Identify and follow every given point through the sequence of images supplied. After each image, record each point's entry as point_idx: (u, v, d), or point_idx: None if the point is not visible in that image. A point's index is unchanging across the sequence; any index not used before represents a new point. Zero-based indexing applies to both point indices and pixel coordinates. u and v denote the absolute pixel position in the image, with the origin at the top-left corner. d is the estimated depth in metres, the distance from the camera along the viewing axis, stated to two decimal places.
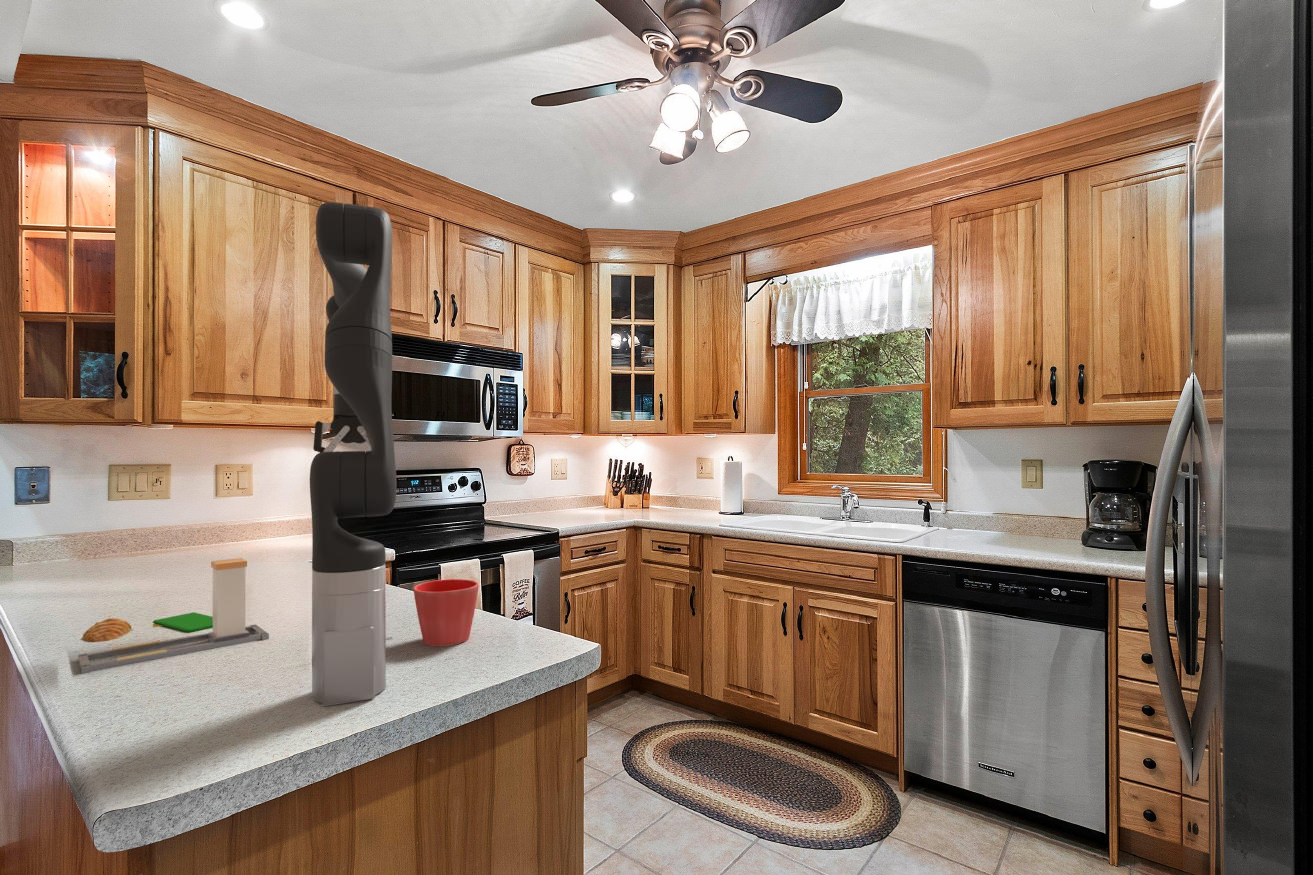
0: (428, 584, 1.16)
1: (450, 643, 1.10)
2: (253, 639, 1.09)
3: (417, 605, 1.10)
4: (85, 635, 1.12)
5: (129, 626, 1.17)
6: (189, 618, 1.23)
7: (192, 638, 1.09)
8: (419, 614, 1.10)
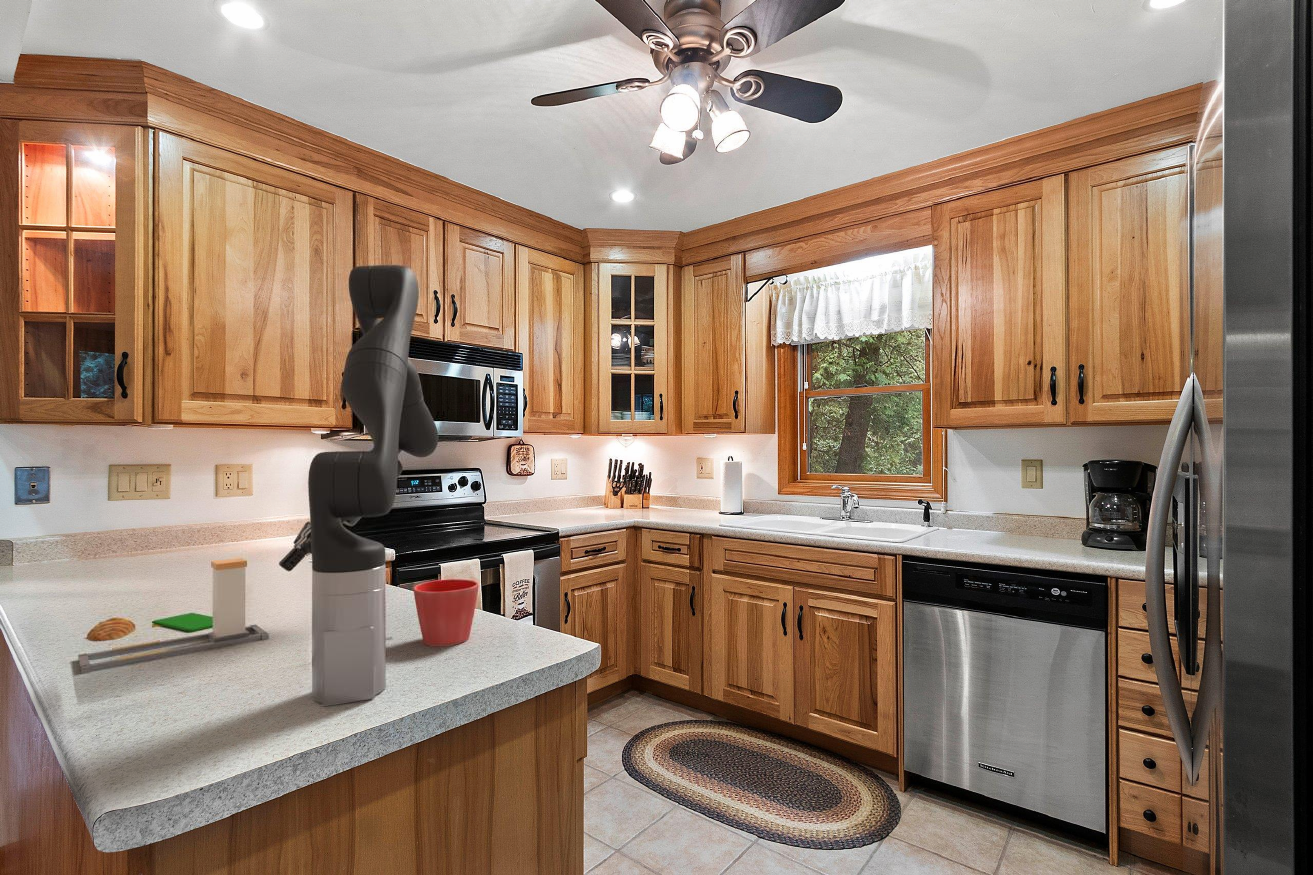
0: (428, 584, 1.16)
1: (450, 643, 1.10)
2: (253, 639, 1.09)
3: (417, 605, 1.10)
4: (90, 634, 1.12)
5: (133, 625, 1.18)
6: (189, 618, 1.23)
7: (192, 638, 1.09)
8: (419, 614, 1.10)
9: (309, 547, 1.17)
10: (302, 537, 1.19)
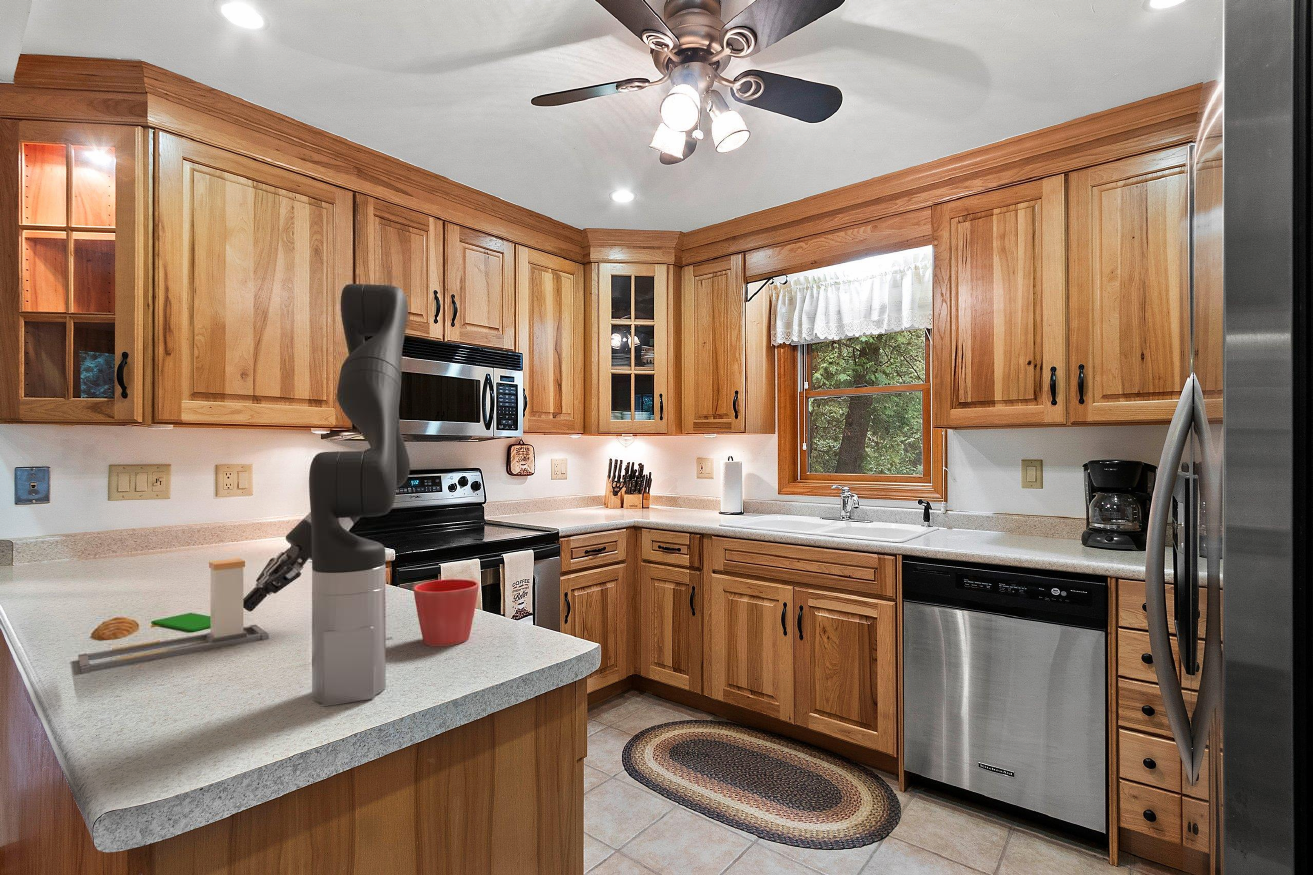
0: (428, 584, 1.16)
1: (450, 643, 1.10)
2: (253, 639, 1.09)
3: (417, 605, 1.10)
4: (94, 633, 1.13)
5: (137, 624, 1.18)
6: (188, 618, 1.23)
7: (192, 638, 1.09)
8: (419, 614, 1.10)
9: (271, 586, 1.12)
10: (265, 575, 1.15)
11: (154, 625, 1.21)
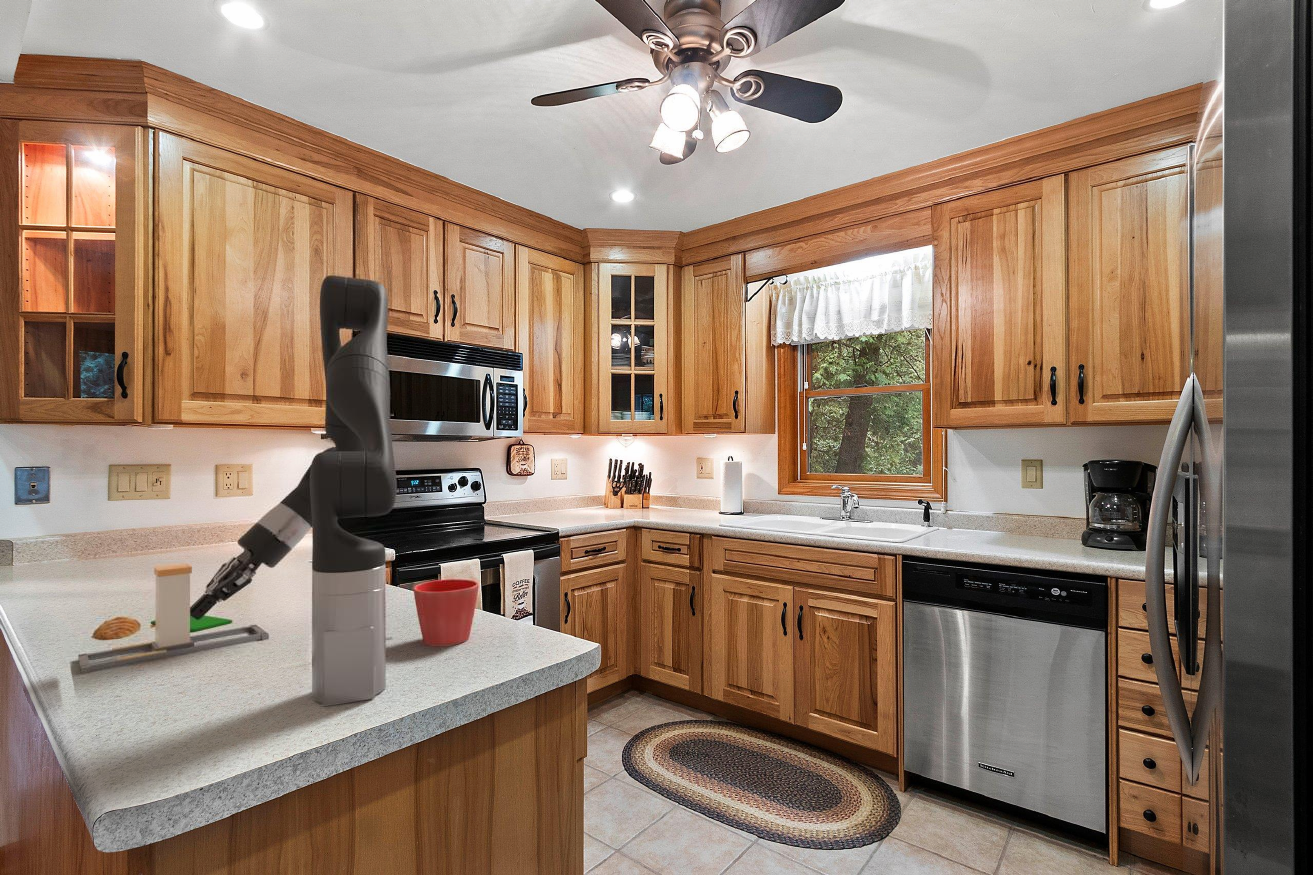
0: (428, 584, 1.16)
1: (450, 643, 1.10)
2: (253, 639, 1.09)
3: (417, 606, 1.10)
4: (96, 633, 1.13)
5: (139, 624, 1.18)
6: None
7: (192, 638, 1.09)
8: (419, 614, 1.10)
9: (220, 593, 1.07)
10: (215, 581, 1.10)
11: (154, 625, 1.21)
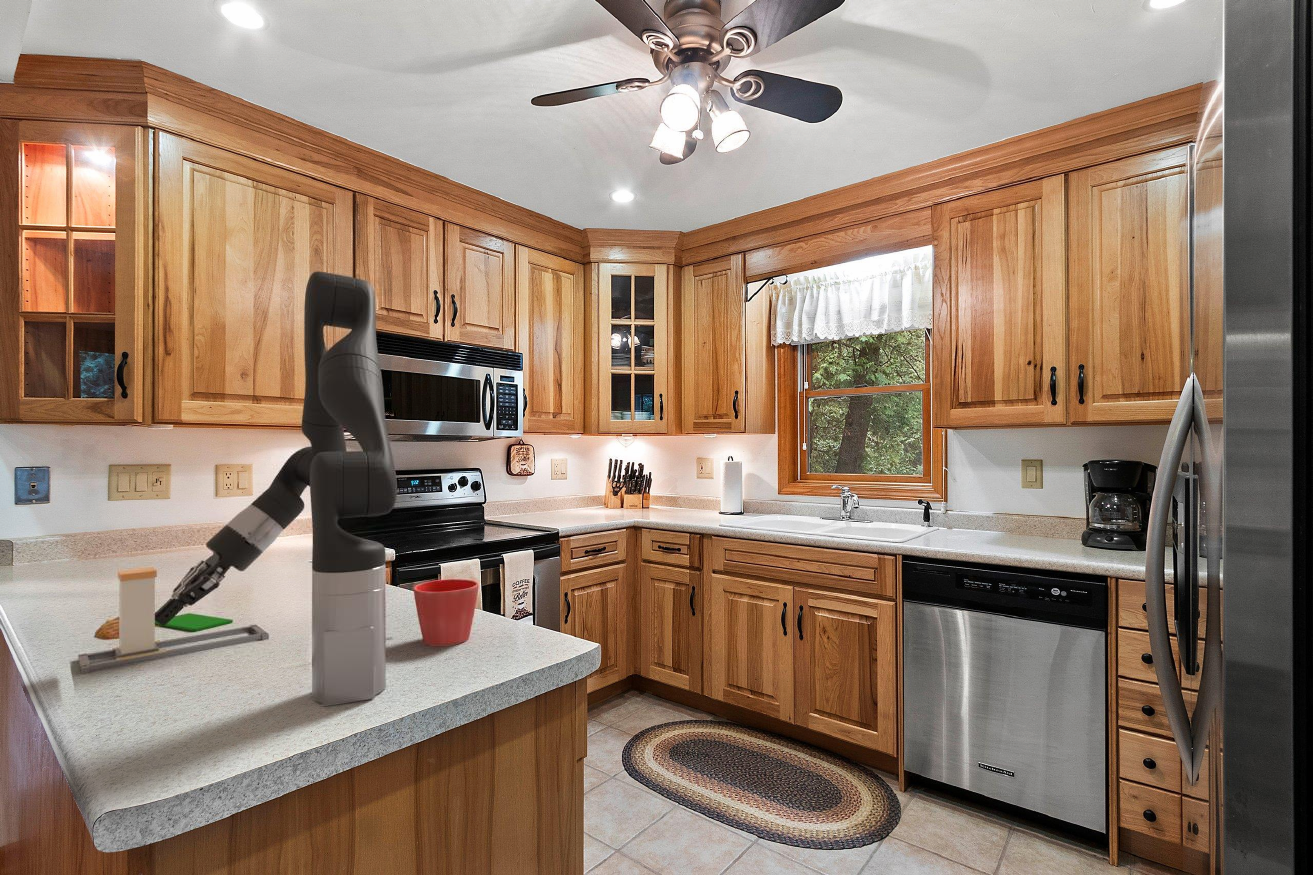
0: (428, 584, 1.16)
1: (450, 643, 1.10)
2: (253, 639, 1.09)
3: (417, 606, 1.10)
4: (98, 633, 1.13)
5: None
6: (188, 618, 1.23)
7: (192, 638, 1.09)
8: (419, 614, 1.10)
9: (186, 598, 1.04)
10: (182, 585, 1.07)
11: None
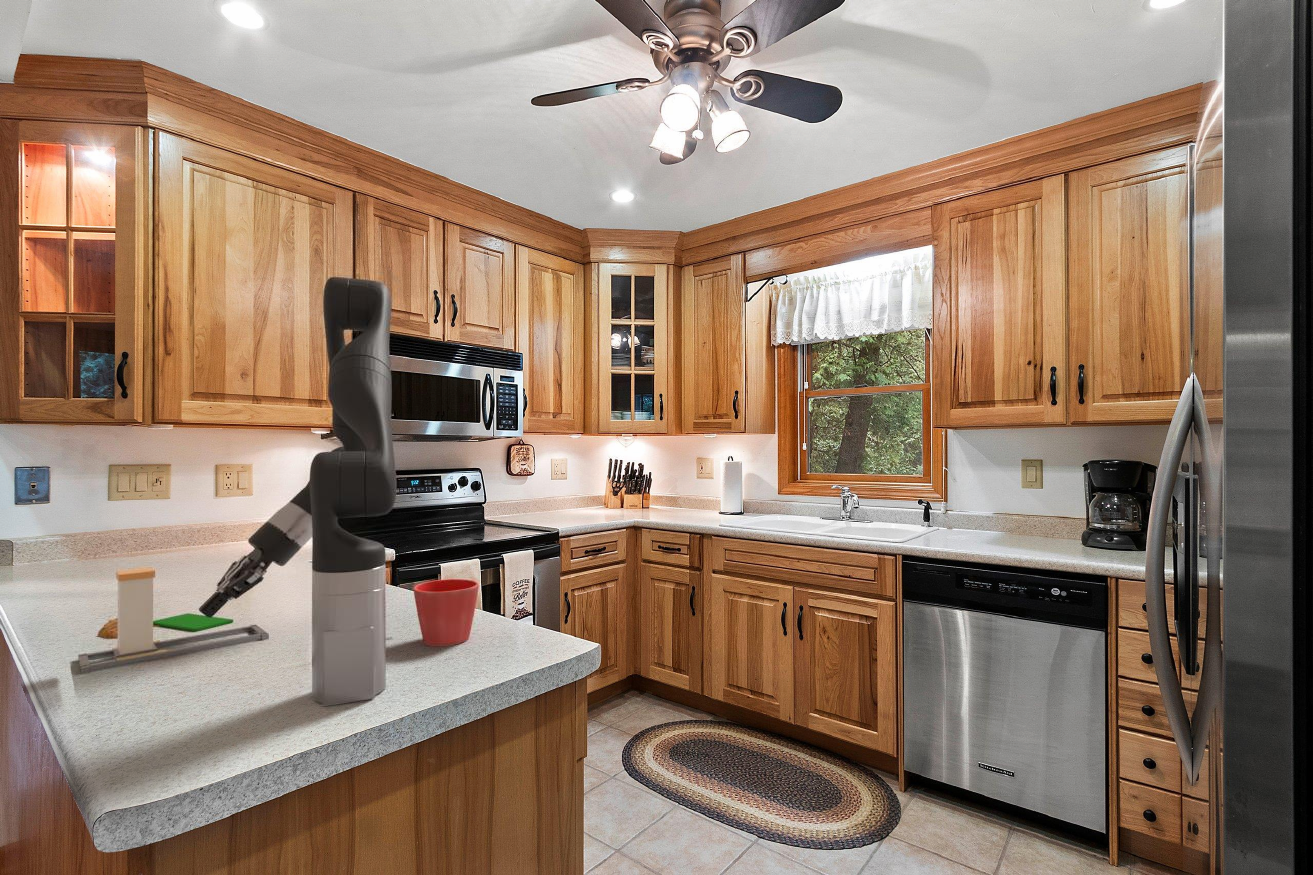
0: (428, 584, 1.16)
1: (450, 643, 1.10)
2: (253, 639, 1.09)
3: (417, 605, 1.10)
4: (102, 632, 1.14)
5: None
6: (188, 618, 1.23)
7: (192, 638, 1.09)
8: (419, 614, 1.10)
9: (232, 591, 1.08)
10: (226, 579, 1.11)
11: (153, 626, 1.20)
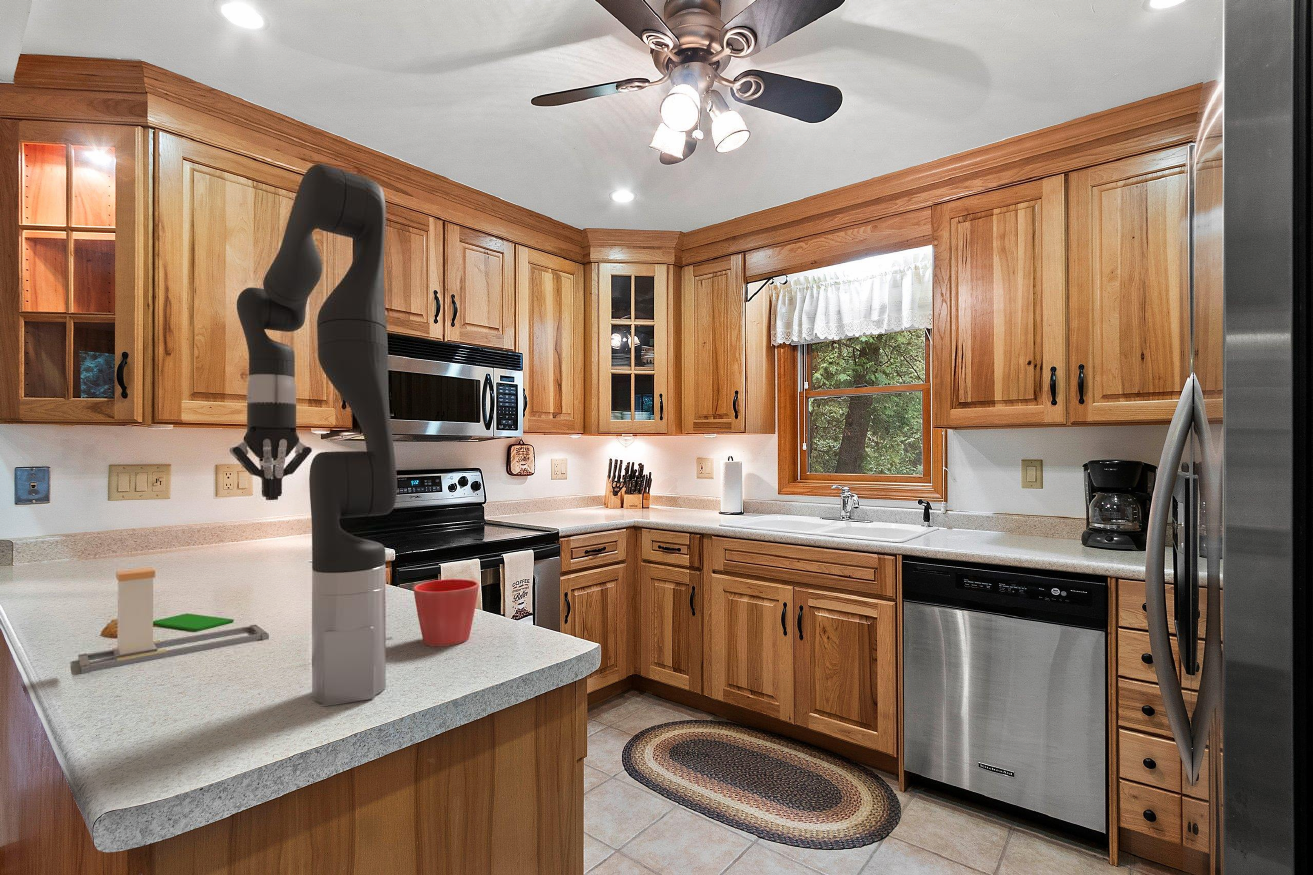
0: (428, 584, 1.16)
1: (450, 643, 1.10)
2: (253, 639, 1.09)
3: (417, 605, 1.10)
4: (105, 631, 1.14)
5: None
6: (187, 618, 1.23)
7: (192, 638, 1.09)
8: (419, 614, 1.10)
9: None
10: (268, 466, 1.13)
11: None
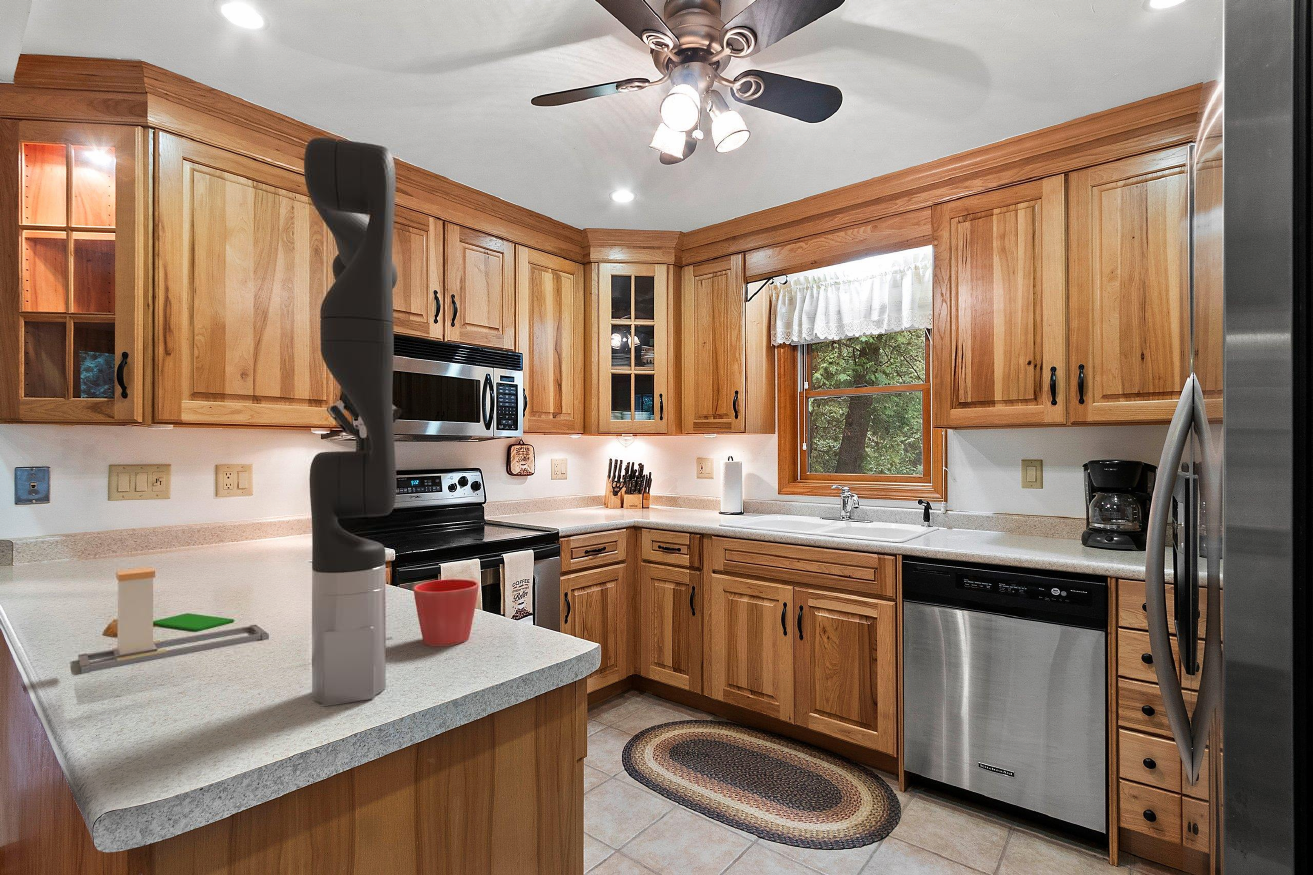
0: (428, 584, 1.16)
1: (450, 643, 1.10)
2: (253, 639, 1.09)
3: (417, 605, 1.10)
4: (108, 631, 1.14)
5: None
6: (188, 618, 1.23)
7: (192, 638, 1.09)
8: (419, 614, 1.10)
9: None
10: (363, 425, 1.15)
11: (153, 626, 1.20)
